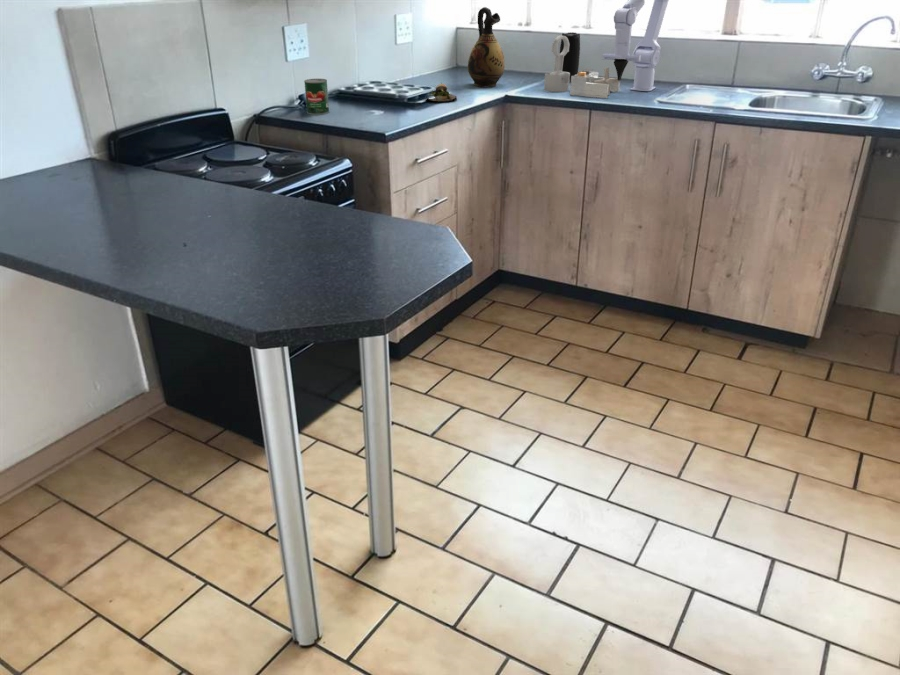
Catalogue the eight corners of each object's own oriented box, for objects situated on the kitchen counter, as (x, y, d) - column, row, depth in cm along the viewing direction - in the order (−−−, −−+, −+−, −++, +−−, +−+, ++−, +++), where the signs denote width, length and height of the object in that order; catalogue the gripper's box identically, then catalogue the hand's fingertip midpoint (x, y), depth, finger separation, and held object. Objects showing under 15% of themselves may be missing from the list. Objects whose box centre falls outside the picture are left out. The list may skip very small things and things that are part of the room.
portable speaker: (556, 81, 321) (559, 34, 312) (560, 78, 329) (563, 31, 320) (575, 82, 319) (578, 34, 310) (579, 79, 326) (582, 32, 317)
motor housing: (583, 88, 305) (584, 67, 301) (619, 91, 299) (621, 70, 295) (569, 95, 292) (570, 73, 289) (606, 98, 286) (608, 76, 282)
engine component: (539, 89, 304) (557, 92, 298) (541, 35, 295) (560, 37, 288) (556, 86, 311) (575, 89, 304) (560, 33, 301) (579, 35, 294)
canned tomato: (310, 115, 261) (307, 82, 256) (304, 111, 267) (301, 79, 262) (332, 113, 264) (329, 81, 258) (326, 109, 270) (323, 77, 265)
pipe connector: (617, 92, 297) (616, 65, 293) (623, 94, 288) (622, 67, 284) (592, 95, 297) (591, 68, 293) (597, 97, 288) (596, 70, 284)
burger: (420, 102, 282) (420, 82, 278) (432, 97, 292) (432, 77, 288) (450, 104, 278) (449, 84, 274) (461, 99, 288) (461, 79, 284)
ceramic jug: (511, 86, 312) (514, 8, 298) (482, 89, 304) (483, 10, 290) (487, 80, 324) (488, 5, 310) (458, 84, 316) (458, 7, 302)
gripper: (600, 42, 282) (597, 80, 289) (638, 44, 276) (634, 82, 283) (606, 41, 288) (603, 77, 294) (643, 42, 282) (639, 80, 288)
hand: (619, 80), depth 289 cm, fingers closed, pressing on pipe connector
